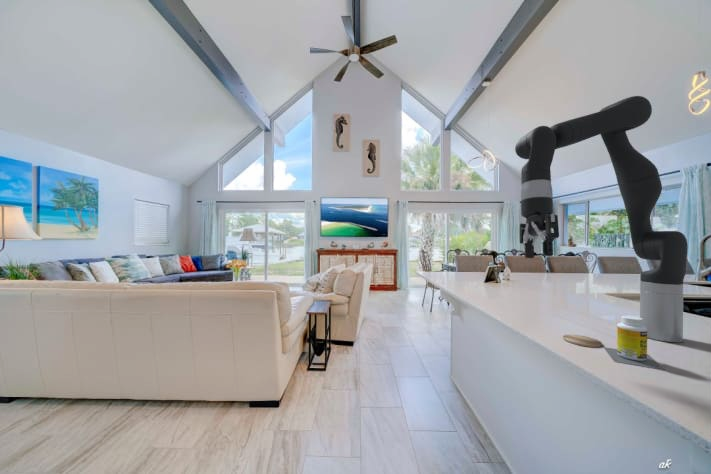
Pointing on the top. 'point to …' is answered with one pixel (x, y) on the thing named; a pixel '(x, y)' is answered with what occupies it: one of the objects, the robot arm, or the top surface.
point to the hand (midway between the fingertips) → (538, 257)
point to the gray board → (647, 363)
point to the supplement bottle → (632, 338)
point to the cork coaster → (582, 340)
